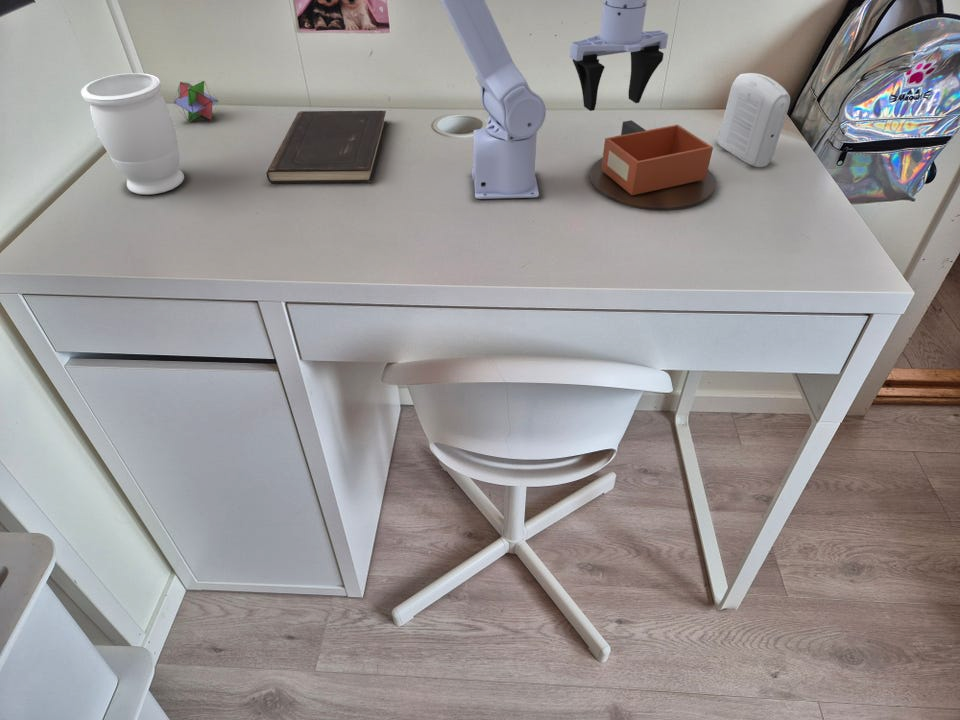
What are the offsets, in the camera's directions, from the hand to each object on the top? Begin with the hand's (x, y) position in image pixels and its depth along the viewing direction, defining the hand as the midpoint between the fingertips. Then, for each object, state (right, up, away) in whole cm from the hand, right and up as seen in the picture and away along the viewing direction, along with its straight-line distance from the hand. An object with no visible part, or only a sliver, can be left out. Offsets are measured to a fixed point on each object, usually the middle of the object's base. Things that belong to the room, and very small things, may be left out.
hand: (611, 104), depth 97 cm
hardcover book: (-44, -3, +13) cm, 46 cm away
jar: (-70, -11, +5) cm, 71 cm away
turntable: (+7, -10, +4) cm, 13 cm away
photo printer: (+24, -4, +11) cm, 26 cm away
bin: (+6, -8, +5) cm, 11 cm away
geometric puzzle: (-71, +6, +23) cm, 75 cm away
